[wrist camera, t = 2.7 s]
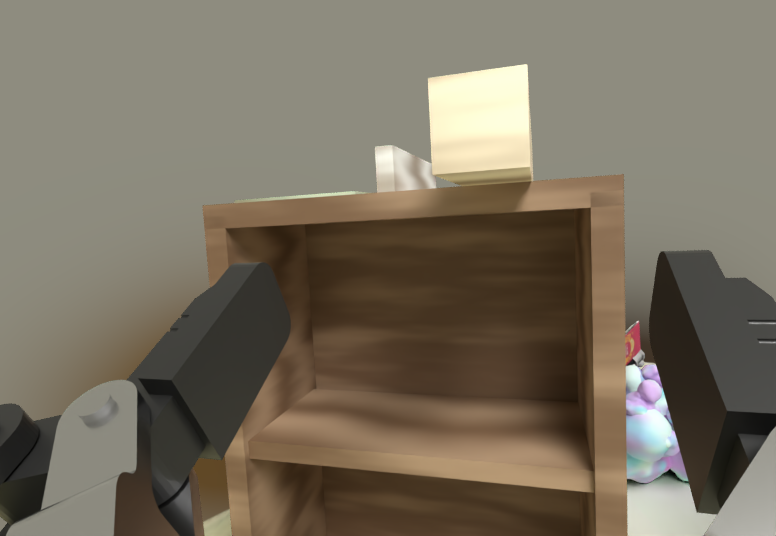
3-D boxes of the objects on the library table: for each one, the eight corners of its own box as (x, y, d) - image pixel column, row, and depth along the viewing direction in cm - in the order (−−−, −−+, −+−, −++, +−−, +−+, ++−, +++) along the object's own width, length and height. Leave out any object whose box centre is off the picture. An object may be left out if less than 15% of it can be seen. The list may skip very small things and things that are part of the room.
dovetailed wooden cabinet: (318, 558, 45) (290, 178, 42) (601, 603, 38) (594, 151, 35) (244, 675, 34) (198, 164, 30) (629, 770, 27) (623, 121, 23)
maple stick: (489, 196, 41) (488, 154, 41) (533, 193, 40) (532, 150, 40) (432, 174, 18) (428, 78, 18) (530, 166, 17) (527, 64, 17)
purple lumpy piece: (757, 503, 42) (747, 308, 49) (506, 451, 52) (525, 295, 58) (719, 508, 59) (716, 363, 65) (534, 469, 68) (547, 345, 75)
